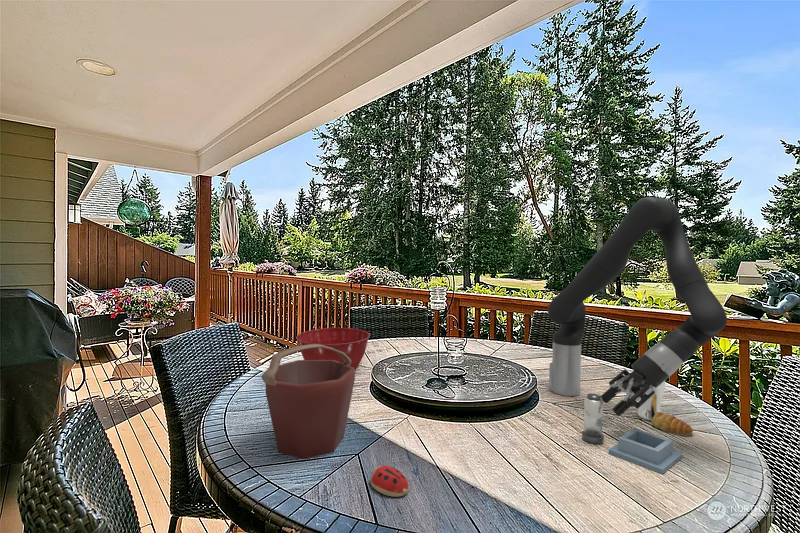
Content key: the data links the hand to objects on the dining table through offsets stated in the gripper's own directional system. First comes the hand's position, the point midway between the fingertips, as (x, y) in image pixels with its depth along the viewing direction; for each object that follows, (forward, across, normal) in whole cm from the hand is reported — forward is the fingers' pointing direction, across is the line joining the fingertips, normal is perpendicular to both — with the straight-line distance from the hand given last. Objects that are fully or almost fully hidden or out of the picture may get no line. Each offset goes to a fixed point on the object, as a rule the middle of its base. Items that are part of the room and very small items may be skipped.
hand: (608, 406), depth 110 cm
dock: (+2, +7, +11) cm, 13 cm away
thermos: (+9, 0, +4) cm, 10 cm away
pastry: (-8, -10, +21) cm, 24 cm away
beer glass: (-6, -18, +19) cm, 27 cm away
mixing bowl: (+68, -48, -55) cm, 99 cm away
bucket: (+61, +10, -48) cm, 78 cm away
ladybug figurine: (+45, +28, -31) cm, 61 cm away
